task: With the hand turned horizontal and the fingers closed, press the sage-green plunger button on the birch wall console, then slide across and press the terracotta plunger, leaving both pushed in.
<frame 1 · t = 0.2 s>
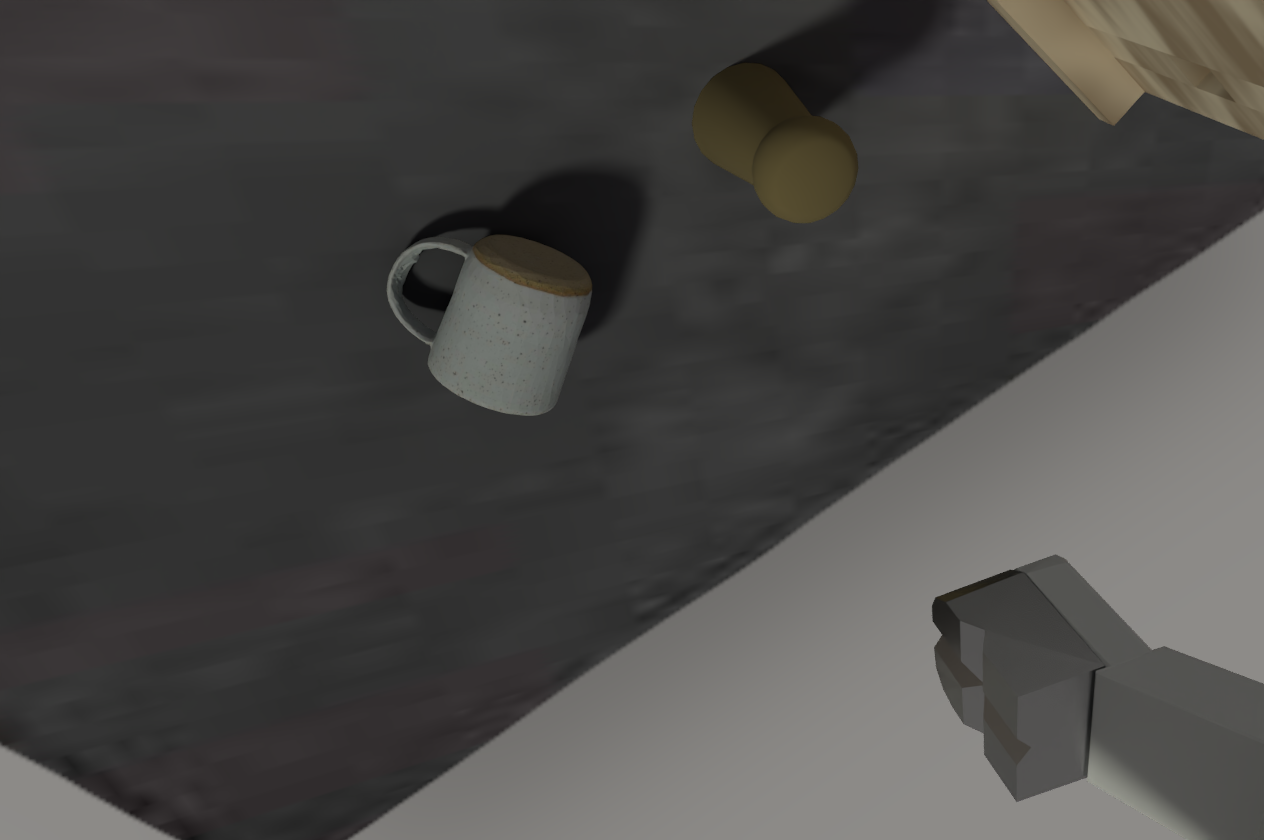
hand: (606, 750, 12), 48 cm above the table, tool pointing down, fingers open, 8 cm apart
ceramic mug: (480, 292, 61), on the table
cork: (742, 116, 59), on the table
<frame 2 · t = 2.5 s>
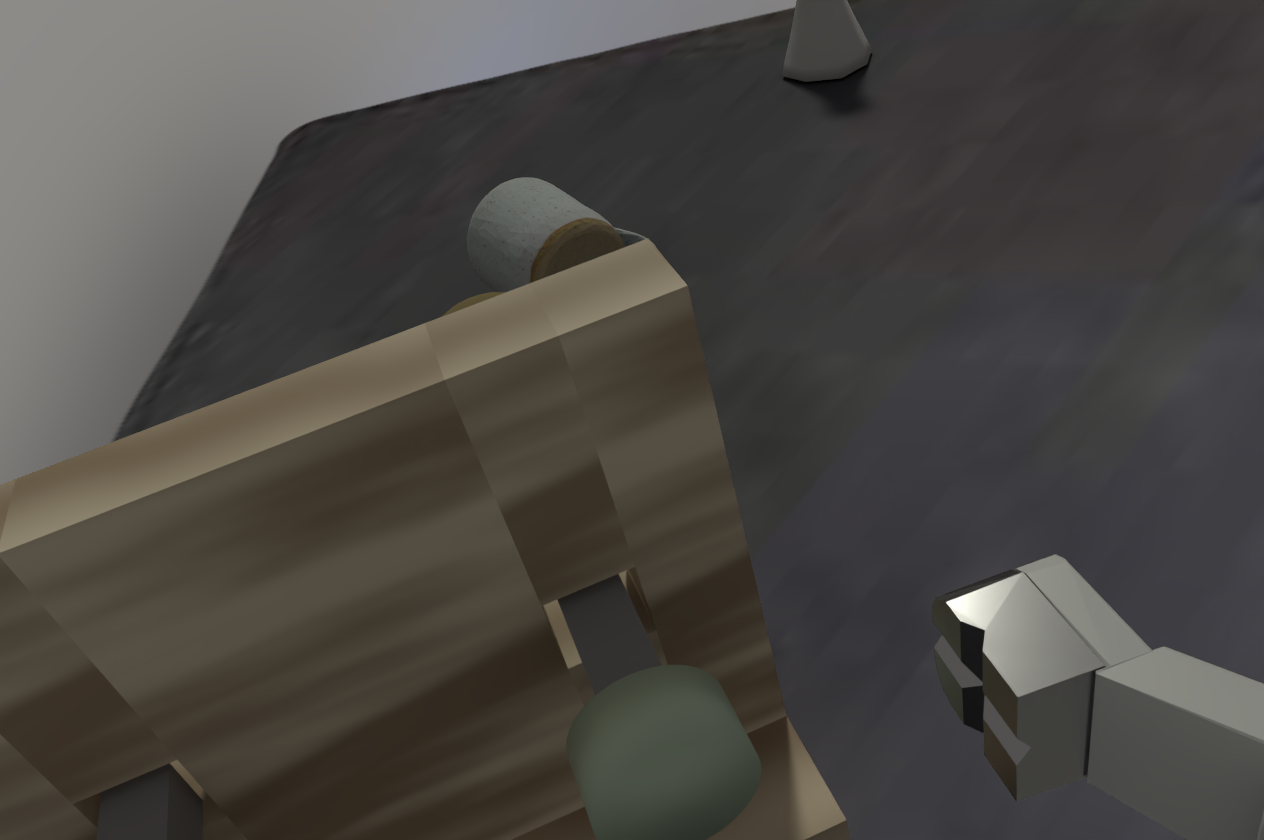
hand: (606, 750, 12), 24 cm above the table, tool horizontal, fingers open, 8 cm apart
ceramic mug: (581, 296, 67), on the table
flask: (827, 68, 86), on the table
cork: (547, 493, 53), on the table
button sage: (633, 694, 29), point 10 cm above the table, slide at 0.0 cm
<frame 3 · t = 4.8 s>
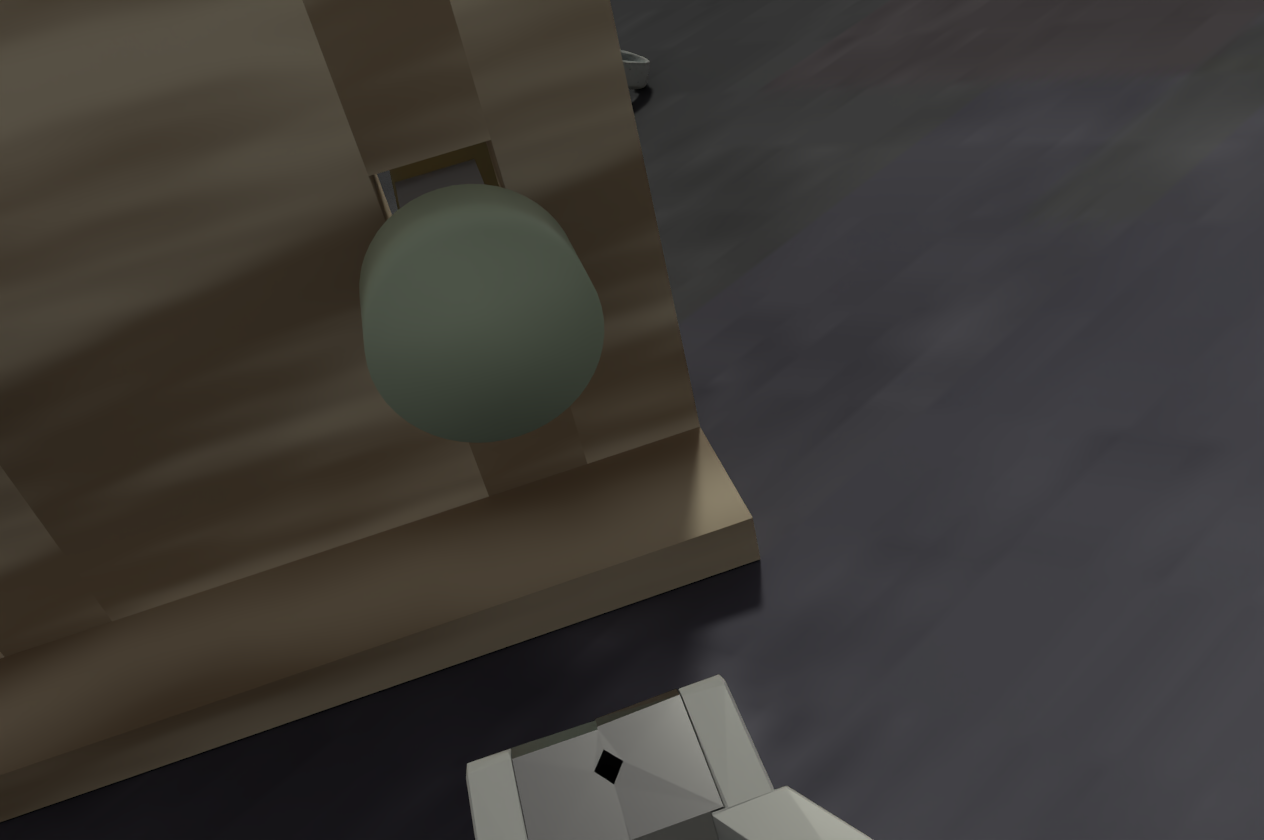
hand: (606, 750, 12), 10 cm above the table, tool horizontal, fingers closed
ceramic mug: (566, 113, 61), on the table
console: (324, 654, 28), on the table
cork: (481, 268, 47), on the table
button sage: (464, 266, 23), point 10 cm above the table, slide at 0.0 cm
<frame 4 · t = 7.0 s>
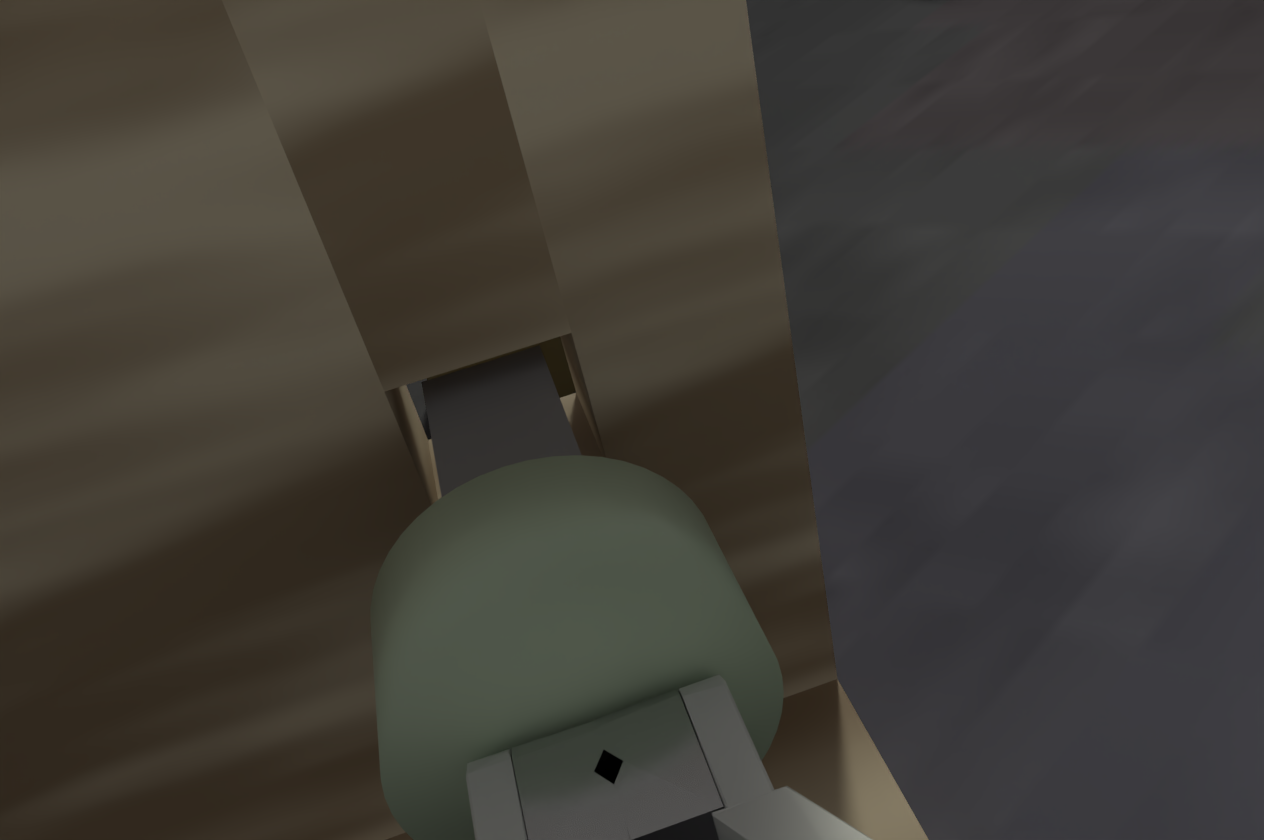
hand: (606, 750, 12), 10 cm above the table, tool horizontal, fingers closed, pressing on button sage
cork: (513, 380, 38), on the table
button sage: (534, 545, 15), point 10 cm above the table, slide at 0.3 cm, touching gripper
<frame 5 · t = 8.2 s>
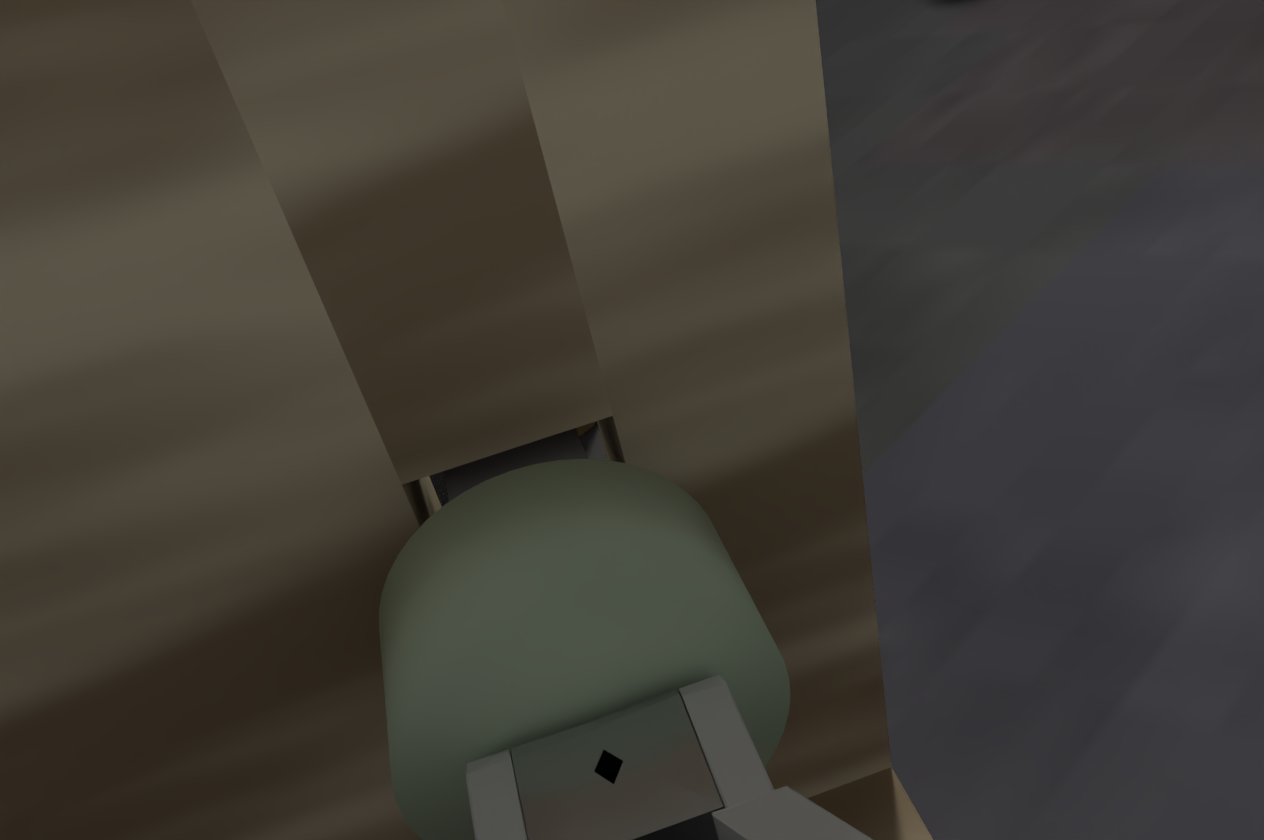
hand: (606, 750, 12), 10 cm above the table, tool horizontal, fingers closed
button sage: (541, 547, 15), point 10 cm above the table, slide at 2.7 cm
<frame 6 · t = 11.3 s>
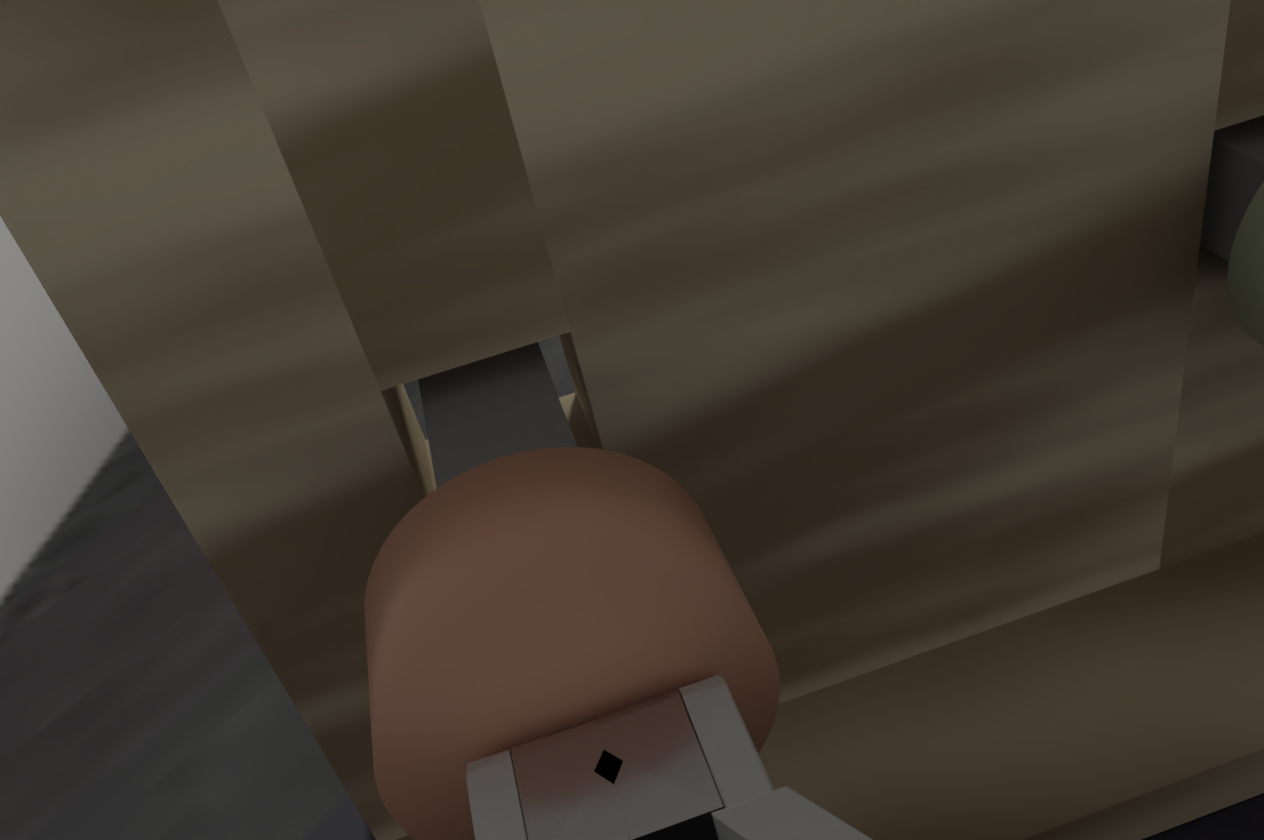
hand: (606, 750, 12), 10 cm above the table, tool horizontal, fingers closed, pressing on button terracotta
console: (989, 788, 21), on the table
button terracotta: (530, 538, 15), point 10 cm above the table, slide at 0.5 cm, touching gripper
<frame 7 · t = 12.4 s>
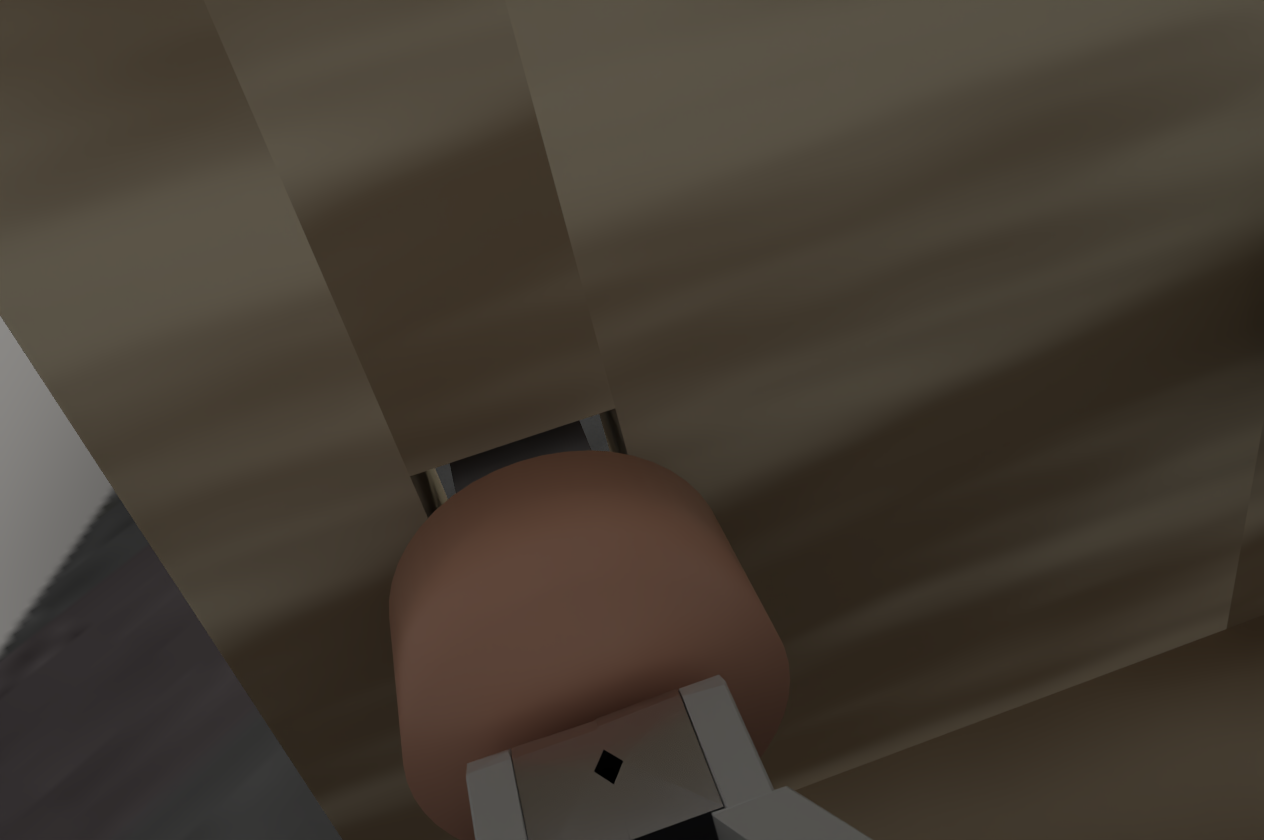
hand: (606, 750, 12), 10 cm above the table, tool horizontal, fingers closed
button terracotta: (546, 538, 15), point 10 cm above the table, slide at 2.7 cm
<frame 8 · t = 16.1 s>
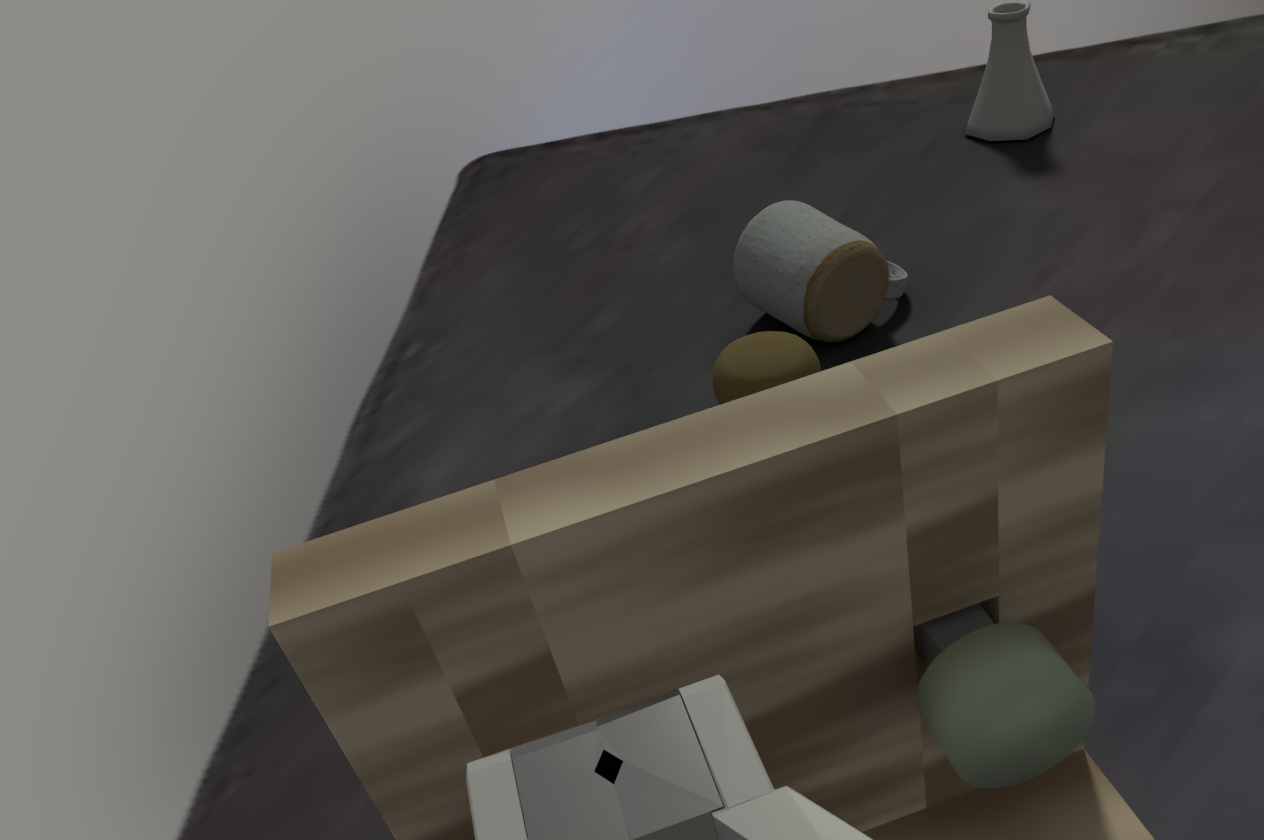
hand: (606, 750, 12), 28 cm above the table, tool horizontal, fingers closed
ceramic mug: (831, 314, 71), on the table
flask: (1009, 129, 89), on the table
cork: (790, 523, 55), on the table
button sage: (963, 650, 34), point 10 cm above the table, slide at 2.7 cm
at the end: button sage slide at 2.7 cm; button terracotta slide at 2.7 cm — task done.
